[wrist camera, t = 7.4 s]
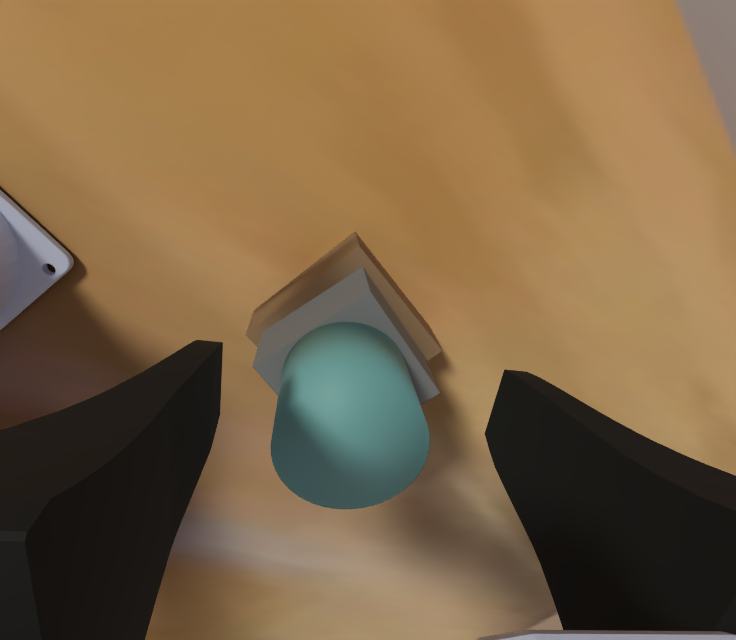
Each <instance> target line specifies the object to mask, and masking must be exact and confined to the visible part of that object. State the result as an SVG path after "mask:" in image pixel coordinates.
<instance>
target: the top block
mask: <svg viewBox="0 0 736 640" xmlns="http://www.w3.org/2000/svg"><path fill="white" fill-rule="evenodd" d="M335 322H357V323H362V324H366V325H369V326H372V327H374V328H377V329H378V330H380V331H382V332H383V333H385V334H386V335H387V336H389V337H390V338H391V339H392V340H393V341H394V342H395V344H396V345H397V346H398V348H399V349H400V351H401V353H402V355H403V357H404V360H405V363H406V366H407V369H408V371H409V374H410V377H411V380H412V383H413V385H414V388H415V391H416V394H417V397H418V399H419V402H420V405H421V404H423V403H424V402H426V401H428V400H429V399H431V398H433V397H434V396H436V395H438V394H440V391H439V389H438V387H437V384H436V382H435V380H434V378H433V375H432V373H431V371H430V368H429V366H428V364H427V362H426V359H425V357H424V355H423V354H422V352H421V351H420V350H419V348H418V347H417V345H416V344H415V342H414V341H413V339H412V338H411V336H410V335H409V333H408V332H407V330H406V329H405V327H404V326H403V325H402V323H401V322H400V320H399V319H398V317H397V316H396V314H395V313H394V311H393V310H392V308H391V307H390V305H389V304H388V303H387V301H386V300H385V298H384V297H383V295H382V294H381V292H380V291H379V289H378V288H377V286H376V285H375V283H374V282H373V281H372V279H371V278H370V276H369V275H368V273H367V272H366V270H365V269H364V267H361V268H360V269H358V270H357V271H355V272H354V273H352V274H351V275H349V276H347V277H346V278H344V279H343V280H341V281H340V282H338V283H337V284H335V285H334V286H332V287H331V288H329V289H327V290H326V291H324V292H323V293H321V294H320V295H318V296H317V297H315V298H314V299H312V300H311V301H309V302H307V303H306V304H304V305H303V306H301V307H300V308H298V309H297V310H295V311H294V312H292V313H291V314H289V315H287V316H286V317H284V318H283V319H281V320H280V321H278V322H277V323H275V324H274V325H272V326H271V327H269V328H267V329H266V330H264V331H263V332H262V335H261V339H260V342H259V346H258V349H257V353H256V356H255V360H254V363H253V368H254V369H255V370H256V371H257V372H258V373H259V374H260V376H261V377H262V378H263V379H264V380H265V381H266V382H267V384H268V385H269V386H270V387H271V388H272V389H273V390H274V391H275V393H276V394H277V395H279V388H280V382H281V376H282V369H283V365H284V362H285V359H286V357H287V355H288V353H289V351H290V350H291V348H292V347H293V346H294V345H295V343H296V342H297V341H298V340H299V339H301V338H302V337H303V336H304V335H305V334H307V333H308V332H310V331H312V330H314V329H316V328H318V327H320V326H323V325H326V324H330V323H335Z"/></svg>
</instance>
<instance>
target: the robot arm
mask: <svg viewBox="0 0 736 640" xmlns="http://www.w3.org/2000/svg"><path fill="white" fill-rule="evenodd" d="M47 264H51V265H53V266H54V268H55V270H56V272H55V273H53V272H51V271H49V269H48V268H47ZM73 265H74V260H73V257H72V256H71V255H70V253H69V252H68V251H67V250H65V249H64V248H63V247H62V246H61V245H60V244H59V243H58V242H57V241H56V240H55V239H53V238H52V237H51V236H50V235H49V234H48V233H47V232H46V231H45V230H44V229H43V228H41V227H40V226H39V225H38V224H37V223H36V222H35V221H34V220H33V219H32V218H31V217H29V216H28V215H27V214H26V213H25V212H24V211H23V210H22V209H21V208H20V207H19V206H18V205H16V204H15V203H14V202H13V201H12V200H11V199H10V198H9V197H8V196H7V195H6V194H4V193H3V192H2V191H1V190H0V330H1V329H3V328H4V327H5V326H6V325H7V324H8V323H9V322H11V321H12V320H13V319H14V318H15V317H16V316H18V315H19V314H20V313H21V312H22V311H23V310H24V309H26V308H27V307H28V306H29V305H30V304H31V303H32V302H34V301H35V300H36V299H37V298H38V297H39V296H41V295H42V294H43V293H44V292H45V291H46V290H47V289H49V288H50V287H51V286H52V285H53V284H54V283H56V282H57V281H58V280H59V279H60V278H61V277H62V276H64V275H65V274H66V273H67V272H68V271H69V270H71V268H72V267H73ZM222 349H223V343H222V342H212V341H202V340H196V341H194V342H192V343H190V344H188V345H187V346H185V347H183V348H182V349H180V350H179V351H177V352H175V353H174V354H172V355H171V356H169V357H167V358H166V359H164V360H162V361H161V362H159V363H157V364H156V365H154V366H152V367H151V368H149V369H147V370H146V371H144V372H142V373H140V374H138V375H136V376H134V377H132V378H131V379H129V380H127V381H125V382H123V383H121V384H119V385H117V386H115V387H114V388H112V389H110V390H108V391H106V392H103V393H101V394H99V395H97V396H95V397H92V398H90V399H88V400H85V401H83V402H81V403H78V404H76V405H73V406H71V407H68V408H66V409H63V410H61V411H58V412H55V413H52V414H49V415H46V416H43V417H40V418H37V419H34V420H31V421H28V422H25V423H22V424H19V425H16V426H13V427H10V428H7V429H4V430H0V640H145V637H146V633H147V630H148V626H149V623H150V619H151V615H152V612H153V608H154V605H155V601H156V598H157V594H158V591H159V587H160V584H161V581H162V577H163V574H164V571H165V567H166V564H167V560H168V557H169V554H170V550H171V547H172V545H173V542H174V539H175V536H176V533H177V531H178V528H179V526H180V523H181V521H182V518H183V516H184V514H185V511H186V509H187V506H188V504H189V501H190V499H191V497H192V494H193V492H194V489H195V487H196V484H197V482H198V480H199V477H200V475H201V472H202V470H203V467H204V465H205V462H206V460H207V457H208V455H209V452H210V450H211V447H212V443H213V439H214V435H215V432H216V428H217V424H218V420H219V416H220V399H221V374H222ZM485 436H486V440H487V443H488V447H489V450H490V453H491V456H492V459H493V462H494V465H495V468H496V470H497V472H498V475H499V477H500V479H501V481H502V483H503V485H504V487H505V489H506V491H507V494H508V496H509V498H510V500H511V502H512V504H513V506H514V508H515V510H516V512H517V514H518V516H519V518H520V520H521V522H522V524H523V526H524V528H525V531H526V533H527V535H528V537H529V539H530V541H531V543H532V545H533V547H534V550H535V552H536V554H537V557H538V559H539V561H540V564H541V567H542V569H543V572H544V575H545V578H546V580H547V583H548V586H549V589H550V591H551V594H552V597H553V600H554V603H555V606H556V609H557V612H558V615H559V618H560V621H561V623H562V627H563V630H523V631H517V632H511V633H505V634H499V635H493V636H487V637H481V638H479V639H477V640H736V476H735V475H732V474H729V473H727V472H724V471H722V470H719V469H717V468H714V467H711V466H709V465H706V464H704V463H701V462H699V461H697V460H694V459H692V458H689V457H687V456H685V455H683V454H680V453H678V452H676V451H674V450H672V449H670V448H667V447H665V446H663V445H661V444H659V443H657V442H654V441H652V440H650V439H648V438H646V437H644V436H642V435H640V434H638V433H637V432H635V431H633V430H631V429H629V428H627V427H625V426H623V425H622V424H620V423H618V422H616V421H614V420H612V419H611V418H609V417H607V416H605V415H604V414H602V413H600V412H598V411H597V410H595V409H593V408H591V407H590V406H588V405H586V404H585V403H583V402H581V401H579V400H578V399H576V398H574V397H573V396H571V395H569V394H568V393H566V392H564V391H563V390H561V389H559V388H557V387H556V386H554V385H552V384H550V383H549V382H547V381H545V380H543V379H541V378H539V377H537V376H535V375H533V374H531V373H528V372H524V371H513V370H504V373H503V376H502V379H501V383H500V386H499V389H498V392H497V396H496V399H495V402H494V405H493V409H492V412H491V415H490V418H489V422H488V425H487V428H486V431H485Z"/></svg>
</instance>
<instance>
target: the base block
mask: <svg viewBox="0 0 736 640" xmlns="http://www.w3.org/2000/svg"><path fill="white" fill-rule="evenodd" d="M361 267H364V269H365V270H366V272H367V273H368V275H369V276H370V278H371V279H372V281H373V282H374V283H375V285H376V286H377V288H378V289H379V291H380V292H381V294H382V295H383V297H384V298H385V300H386V301H387V303H388V304H389V305H390V307H391V308H392V310H393V311H394V313H395V314H396V316H397V317H398V319H399V320H400V322H401V323H402V325H403V326H404V327H405V329H406V330H407V332H408V333H409V335H410V336H411V338H412V339H413V341H414V342H415V344H416V345H417V347H418V348H419V350H420V351H421V352H422V354H423V355H424V357H425V359H426V362H427V361H428V360H430V359H431V358H433V357H434V356H436V355H437V354H438V353H440V352H441V351H442V349H441V347H440V345H439V344H438V342H437V340H436V338H435V336H434V334H433V332H432V330H431V328H430V326H429V325H428V324H427V322H426V321H425V320H424V319H423V317H422V316H421V315H420V314H419V312H418V311H417V310H416V308H415V307H414V306H413V305H412V303H411V302H410V301H409V300H408V298H407V297H406V296H405V294H404V293H403V292H402V291H401V289H400V288H399V287H398V286H397V284H396V283H395V282H394V280H393V279H392V278H391V277H390V275H389V274H388V273H387V272H386V270H385V269H384V268H383V267H382V265H381V264H380V263H379V261H378V260H377V259H376V258H375V256H374V255H373V254H372V253H371V251H370V250H369V249H368V247H367V246H366V245H365V244H364V242H363V241H362V240H361V239H360V237H359V236H358V235H357V233H356V232H354V233H352V234H351V235H350V236H348V237H347V238H346V239H345V240H343V241H342V242H341V243H340V244H338V245H337V246H336V247H334V248H333V249H332V250H331V251H329V252H328V253H327V254H326V255H324V256H323V257H322V258H320V259H319V260H318V261H317V262H315V263H314V264H313V265H312V266H310V267H309V268H308V269H306V270H305V271H304V272H303V273H301V274H300V275H299V276H298V277H296V278H295V279H294V280H292V281H291V282H290V283H289V284H287V285H286V286H285V287H283V288H282V289H281V290H280V291H278V292H277V293H276V294H275V295H273V296H272V297H271V298H269V299H268V300H267V301H266V302H264V303H263V304H262V305H261V306H259V307H258V308H257V309H255V310H254V313H253V315H252V318H251V321H250V324H249V327H248V330H247V333H246V336H247V337H248V338H249V339H250V340H251V341H252V342H253V343H254V344H255V345H256V346H257V347H258V346H259V342H260V339H261V335H262V332H263V331H264V330H266V329H267V328H269V327H271V326H272V325H274V324H275V323H277V322H278V321H280V320H281V319H283V318H284V317H286V316H287V315H289V314H291V313H292V312H294V311H295V310H297V309H298V308H300V307H301V306H303V305H304V304H306V303H307V302H309V301H311V300H312V299H314V298H315V297H317V296H318V295H320V294H321V293H323V292H324V291H326V290H327V289H329V288H331V287H332V286H334V285H335V284H337V283H338V282H340V281H341V280H343V279H344V278H346V277H347V276H349V275H351V274H352V273H354V272H355V271H357V270H358V269H360V268H361Z"/></svg>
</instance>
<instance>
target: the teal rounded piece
mask: <svg viewBox="0 0 736 640" xmlns="http://www.w3.org/2000/svg"><path fill="white" fill-rule="evenodd" d="M429 447H430V434H429V428H428V425H427V422H426V419H425V416H424V414H423V411H422V408H421V405H420V402H419V399H418V397H417V394H416V391H415V388H414V385H413V383H412V380H411V377H410V374H409V371H408V369H407V366H406V363H405V360H404V357H403V355H402V353H401V351H400V349H399V348H398V346H397V345H396V344H395V342H394V341H393V340H392V339H391V338H390V337H389V336H387V335H386V334H385V333H383V332H382V331H380V330H378V329H377V328H374V327H372V326H369V325H366V324H362V323H357V322H335V323H330V324H326V325H323V326H320V327H318V328H316V329H314V330H312V331H310V332H308V333H307V334H305V335H304V336H303V337H302V338H301V339H299V340H298V341H297V342H296V343H295V345H294V346H293V347H292V348H291V350H290V351H289V353H288V355H287V357H286V359H285V362H284V365H283V369H282V376H281V382H280V388H279V395H278V401H277V408H276V414H275V421H274V427H273V434H272V440H271V456H272V462H273V465H274V467H275V470H276V472H277V474H278V476H279V477H280V479H281V480H282V481H283V483H284V484H285V485H286V486H287V487H288V488H289V489H290V490H291V491H292V492H294V493H295V494H296V495H298V496H299V497H301V498H303V499H305V500H306V501H309V502H311V503H313V504H316V505H320V506H323V507H328V508H333V509H357V508H364V507H368V506H373V505H376V504H379V503H381V502H384V501H386V500H388V499H390V498H392V497H394V496H395V495H397V494H399V493H400V492H401V491H403V490H404V489H405V488H407V487H408V486H409V485H410V484H411V483H412V482H413V481H414V479H415V478H416V477H417V476H418V474H419V473H420V471H421V470H422V468H423V466H424V464H425V462H426V460H427V456H428V453H429Z"/></svg>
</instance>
